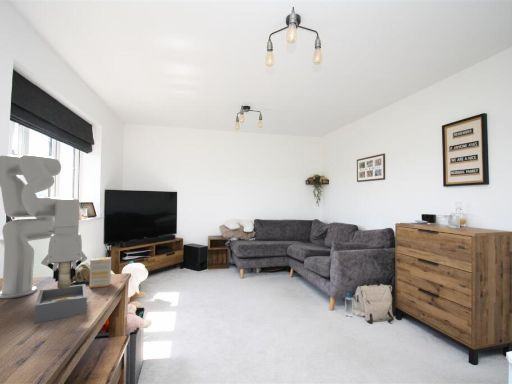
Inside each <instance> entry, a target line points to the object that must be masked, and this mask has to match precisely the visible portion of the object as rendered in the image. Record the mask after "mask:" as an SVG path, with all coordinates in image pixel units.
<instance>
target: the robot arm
mask: <svg viewBox="0 0 512 384" xmlns="http://www.w3.org/2000/svg"><path fill="white" fill-rule="evenodd" d="M61 171H62V164H61V162H60V160H59V159H57V158H56V157H53V156H48V155H47V156H46V155H40V154H32V153H30V154H29V153H28V154H27V153H26V154H24V155H17V154H16V155H15V154H3V155H0V190H1V197H2V205H3V209H4V213H5V215H6V216H7V217H10V218H21V219H13V220H10V221H7V222H5V224H4V225H3V226H2V236H3V237H2V238H3V243H4V244H3V246H4V253H3V256H4V257H3V272H2V287H1V288H2V289H1V290H0V299H15V298H21V297H25V296H28V295H31V294H33V293H35V292H36V291H38V286H35V285H33V282H34V279H33V278H34V264H35V249H34V248H33V246H32V245H31V244H30V243H29V242H30V241H37V240H46V239H49V241H48V242H49V243H48V251H47V255H46V256H45V257H44V259H42V261H41V262H40V263H41V265H44V266H45V267H48V268H49V269H50V270H52V272H53V273H52V274H53V275H52V279H53V280H54V281H55V282H56V283H58V263H60V262H70V261H72V265H71V280H72V279H73V277H74V276H75V271H76V269H77V268H78V267H79V266H80V265H82V264H83V263H84V262H85V261H87V259H88V257H87V256H86V254H85V253H84V251H83V240H82V236H81V235H82V234H81V233H80V232H79V227H80V225H79V224H80V200H79V199H78V198H68V197H56V196H54V197H53V196H52V197H51V196H39V195H37V193H40V192H43V191H46V190H48V189H50V188H51V187H52V186H53V185H54V184H55V178H54V177H56V176H58V175H59V174H60V173H61ZM17 175H18V176H17ZM19 176H23V178H24V179H25V181H26V182H27V184H26V183H25V182H24V181H23V180H22V179H21V178H19Z"/></svg>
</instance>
